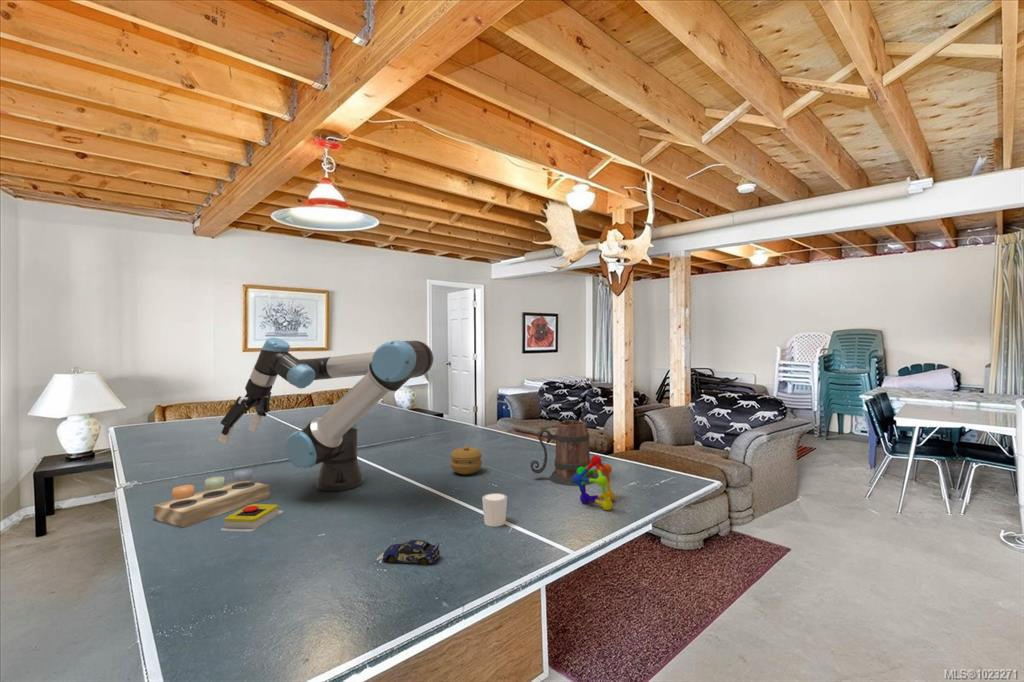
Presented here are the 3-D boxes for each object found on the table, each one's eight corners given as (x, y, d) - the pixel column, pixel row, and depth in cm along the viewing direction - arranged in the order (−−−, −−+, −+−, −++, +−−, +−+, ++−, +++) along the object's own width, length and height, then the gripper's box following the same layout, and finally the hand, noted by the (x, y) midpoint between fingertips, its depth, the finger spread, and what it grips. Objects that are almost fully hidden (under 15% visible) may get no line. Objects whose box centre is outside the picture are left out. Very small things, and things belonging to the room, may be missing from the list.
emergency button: (218, 516, 124) (255, 497, 139) (218, 532, 124) (255, 511, 139) (251, 517, 123) (284, 497, 138) (251, 533, 123) (284, 512, 138)
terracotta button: (197, 495, 135) (197, 486, 135) (179, 500, 130) (179, 491, 130) (187, 492, 137) (187, 483, 137) (168, 498, 132) (168, 488, 132)
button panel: (269, 497, 150) (269, 484, 150) (183, 527, 127) (183, 511, 127) (241, 491, 156) (241, 479, 156) (153, 519, 133) (153, 504, 133)
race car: (371, 568, 104) (371, 547, 104) (381, 554, 110) (380, 535, 110) (439, 568, 103) (438, 547, 103) (444, 554, 110) (444, 535, 110)
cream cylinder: (488, 529, 123) (488, 502, 123) (478, 520, 129) (478, 495, 129) (512, 524, 126) (511, 498, 126) (500, 516, 132) (500, 491, 132)
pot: (455, 468, 182) (454, 442, 182) (484, 468, 181) (484, 442, 181) (446, 476, 171) (446, 449, 171) (478, 477, 169) (478, 450, 169)
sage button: (228, 486, 143) (228, 477, 143) (211, 490, 138) (211, 482, 138) (218, 484, 145) (217, 475, 145) (201, 488, 140) (201, 480, 140)
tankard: (591, 471, 175) (590, 418, 175) (601, 485, 158) (601, 426, 158) (529, 472, 174) (528, 419, 174) (532, 487, 158) (531, 427, 157)
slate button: (255, 477, 151) (255, 469, 151) (240, 482, 146) (240, 474, 146) (245, 476, 153) (245, 468, 153) (230, 480, 149) (230, 472, 149)
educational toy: (572, 499, 148) (571, 451, 149) (613, 501, 146) (612, 452, 148) (573, 513, 132) (572, 459, 134) (619, 514, 131) (618, 460, 132)
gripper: (275, 370, 168) (253, 421, 171) (223, 383, 144) (198, 441, 147) (293, 380, 168) (270, 431, 171) (244, 394, 143) (218, 453, 146)
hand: (237, 436), depth 159 cm, fingers open, 13 cm apart
